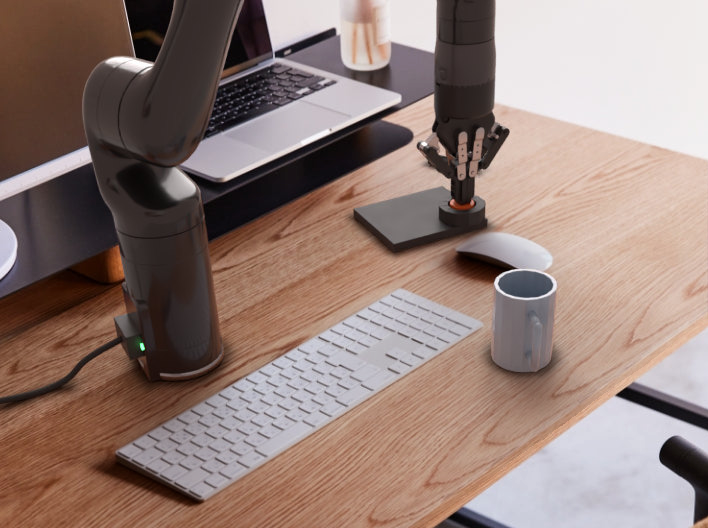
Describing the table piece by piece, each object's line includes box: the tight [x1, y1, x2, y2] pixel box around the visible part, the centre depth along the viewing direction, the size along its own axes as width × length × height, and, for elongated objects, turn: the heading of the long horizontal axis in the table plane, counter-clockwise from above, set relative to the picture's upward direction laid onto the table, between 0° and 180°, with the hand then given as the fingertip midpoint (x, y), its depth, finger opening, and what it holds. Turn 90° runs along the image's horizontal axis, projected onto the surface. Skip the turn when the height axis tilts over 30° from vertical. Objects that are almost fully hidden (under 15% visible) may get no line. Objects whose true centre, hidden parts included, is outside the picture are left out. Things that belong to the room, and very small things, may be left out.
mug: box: [490, 268, 559, 373], centre depth 113 cm, size 9×6×9 cm
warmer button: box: [450, 199, 474, 210], centre depth 142 cm, size 3×3×2 cm
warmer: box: [352, 185, 489, 253], centre depth 143 cm, size 15×13×3 cm
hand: (462, 201), depth 141 cm, fingers closed
